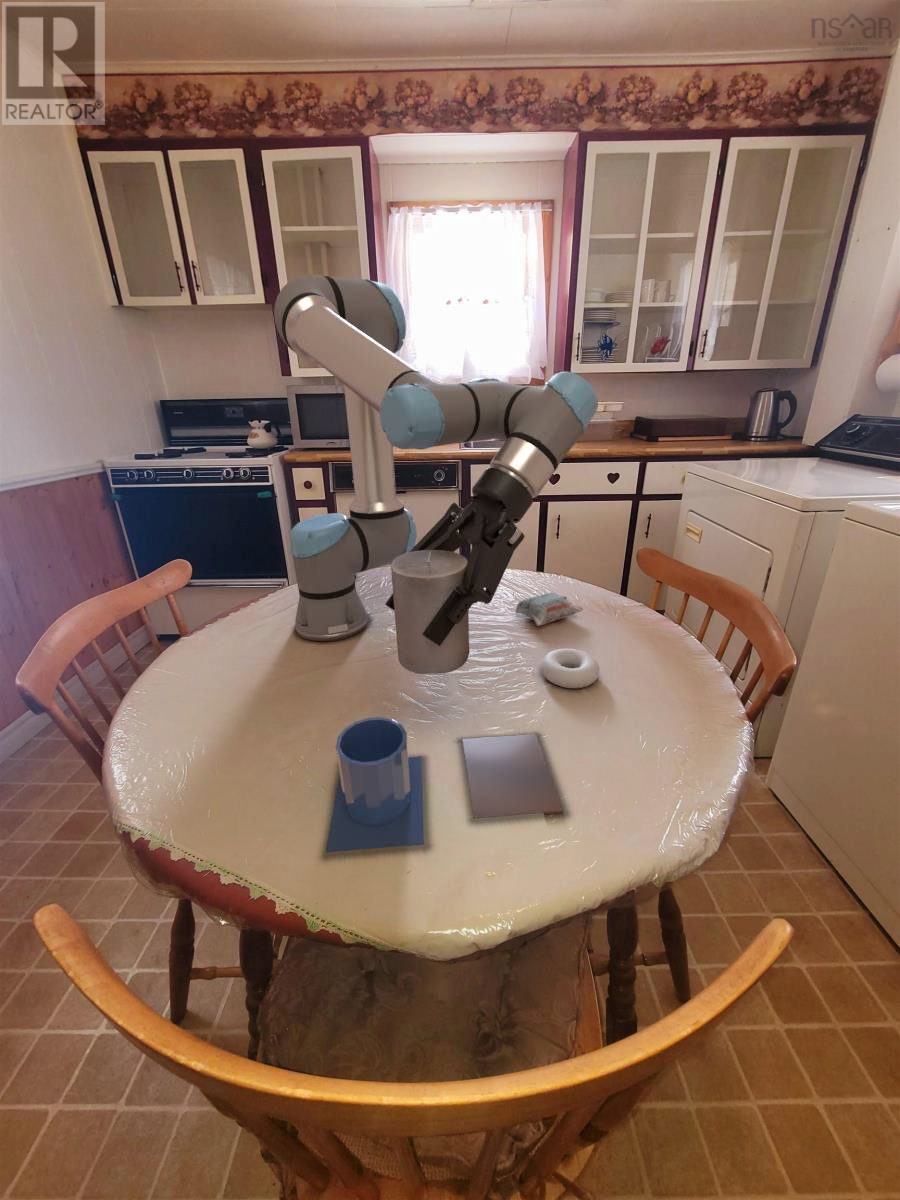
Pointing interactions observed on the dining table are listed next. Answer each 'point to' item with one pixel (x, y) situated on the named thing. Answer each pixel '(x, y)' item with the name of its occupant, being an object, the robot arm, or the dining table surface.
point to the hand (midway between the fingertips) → (410, 624)
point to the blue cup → (374, 770)
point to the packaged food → (547, 608)
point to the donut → (574, 677)
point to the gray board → (509, 777)
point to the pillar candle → (428, 610)
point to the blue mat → (393, 834)
